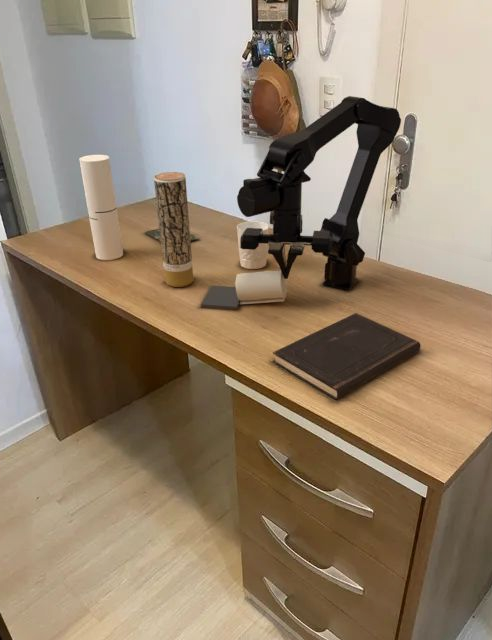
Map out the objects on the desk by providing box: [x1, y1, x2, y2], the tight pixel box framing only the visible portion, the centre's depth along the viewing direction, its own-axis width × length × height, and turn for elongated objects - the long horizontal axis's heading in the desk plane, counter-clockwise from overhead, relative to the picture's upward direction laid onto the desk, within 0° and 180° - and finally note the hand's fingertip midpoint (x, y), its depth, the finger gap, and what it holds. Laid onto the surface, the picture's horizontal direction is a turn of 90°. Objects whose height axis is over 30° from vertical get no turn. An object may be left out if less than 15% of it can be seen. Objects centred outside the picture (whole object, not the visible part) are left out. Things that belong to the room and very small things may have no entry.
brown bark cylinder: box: [153, 171, 194, 288], centre depth 127 cm, size 7×7×25 cm
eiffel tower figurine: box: [144, 228, 198, 242], centre depth 156 cm, size 15×10×13 cm
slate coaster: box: [200, 285, 240, 311], centre depth 125 cm, size 8×10×1 cm
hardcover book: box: [272, 312, 422, 400], centre depth 103 cm, size 16×23×2 cm
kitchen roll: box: [235, 269, 287, 305], centre depth 122 cm, size 10×6×6 cm, turn 79°
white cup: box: [236, 220, 270, 270], centre depth 139 cm, size 8×8×10 cm
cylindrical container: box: [78, 154, 124, 261], centre depth 142 cm, size 7×7×25 cm
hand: (286, 278), depth 120 cm, fingers closed
